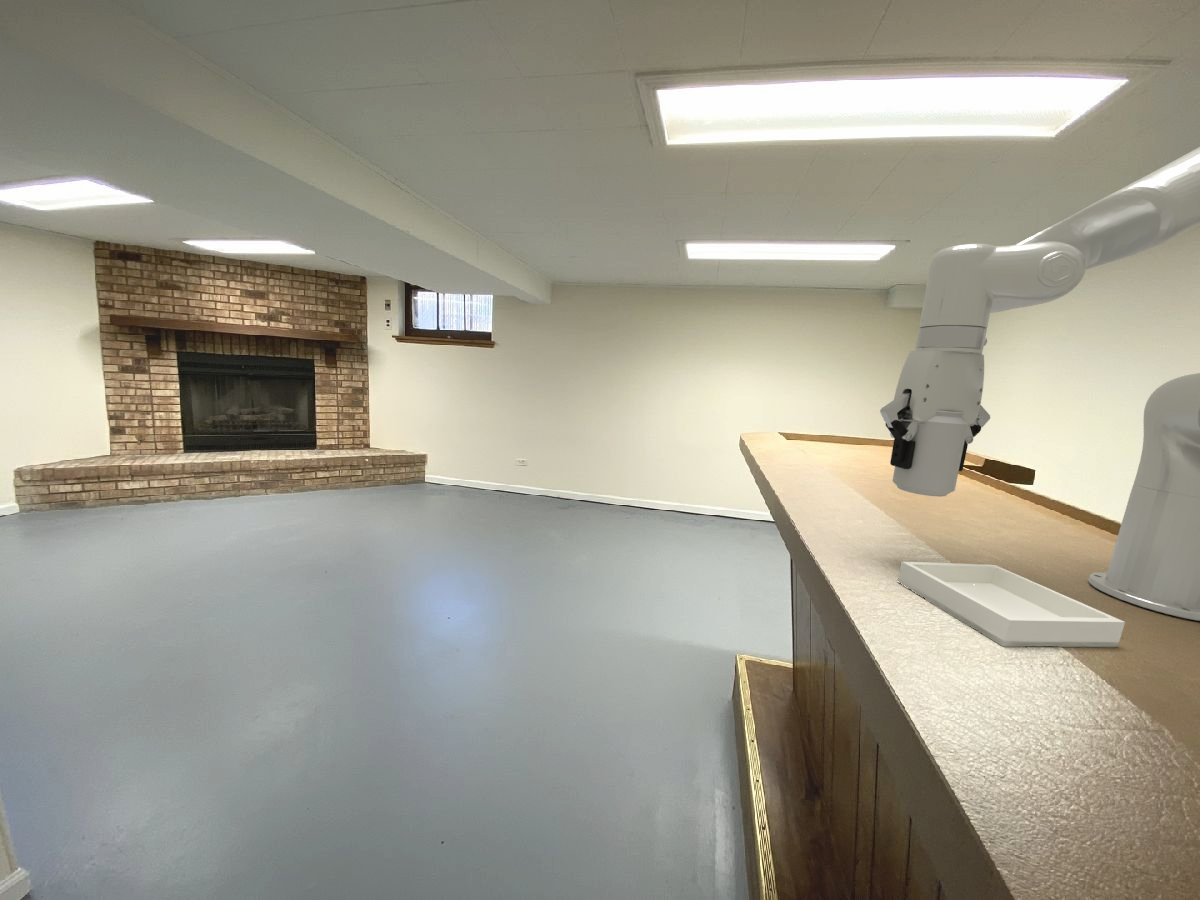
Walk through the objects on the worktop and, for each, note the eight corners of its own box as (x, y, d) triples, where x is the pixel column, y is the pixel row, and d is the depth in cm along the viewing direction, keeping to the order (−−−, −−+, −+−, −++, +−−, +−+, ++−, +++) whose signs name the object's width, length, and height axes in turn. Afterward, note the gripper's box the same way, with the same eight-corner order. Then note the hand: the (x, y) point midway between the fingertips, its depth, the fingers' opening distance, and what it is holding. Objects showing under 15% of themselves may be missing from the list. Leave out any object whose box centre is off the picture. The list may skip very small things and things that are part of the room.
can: (932, 487, 70) (948, 408, 68) (966, 500, 63) (984, 412, 61) (881, 482, 71) (894, 404, 69) (908, 495, 63) (924, 408, 61)
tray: (989, 584, 65) (995, 564, 64) (1117, 647, 50) (1125, 622, 50) (897, 582, 63) (901, 561, 62) (1002, 646, 48) (1009, 620, 48)
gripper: (978, 348, 68) (955, 465, 71) (872, 339, 66) (853, 460, 69) (1031, 346, 61) (1003, 476, 64) (914, 336, 58) (890, 471, 61)
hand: (925, 467), depth 66 cm, fingers closed on can, 7 cm apart
